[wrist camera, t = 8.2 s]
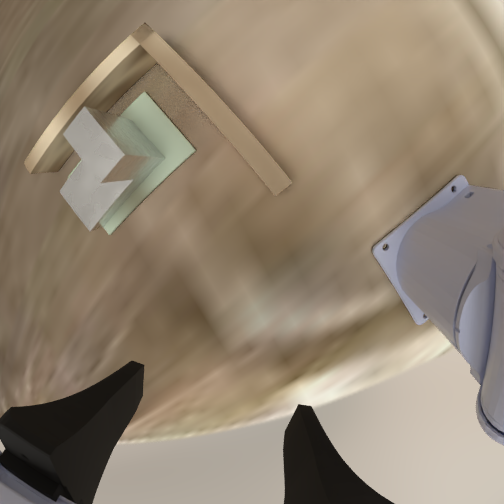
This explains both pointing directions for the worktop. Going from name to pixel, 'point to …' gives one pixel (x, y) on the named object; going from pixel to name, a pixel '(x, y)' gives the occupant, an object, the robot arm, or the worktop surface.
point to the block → (106, 164)
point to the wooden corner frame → (150, 118)
